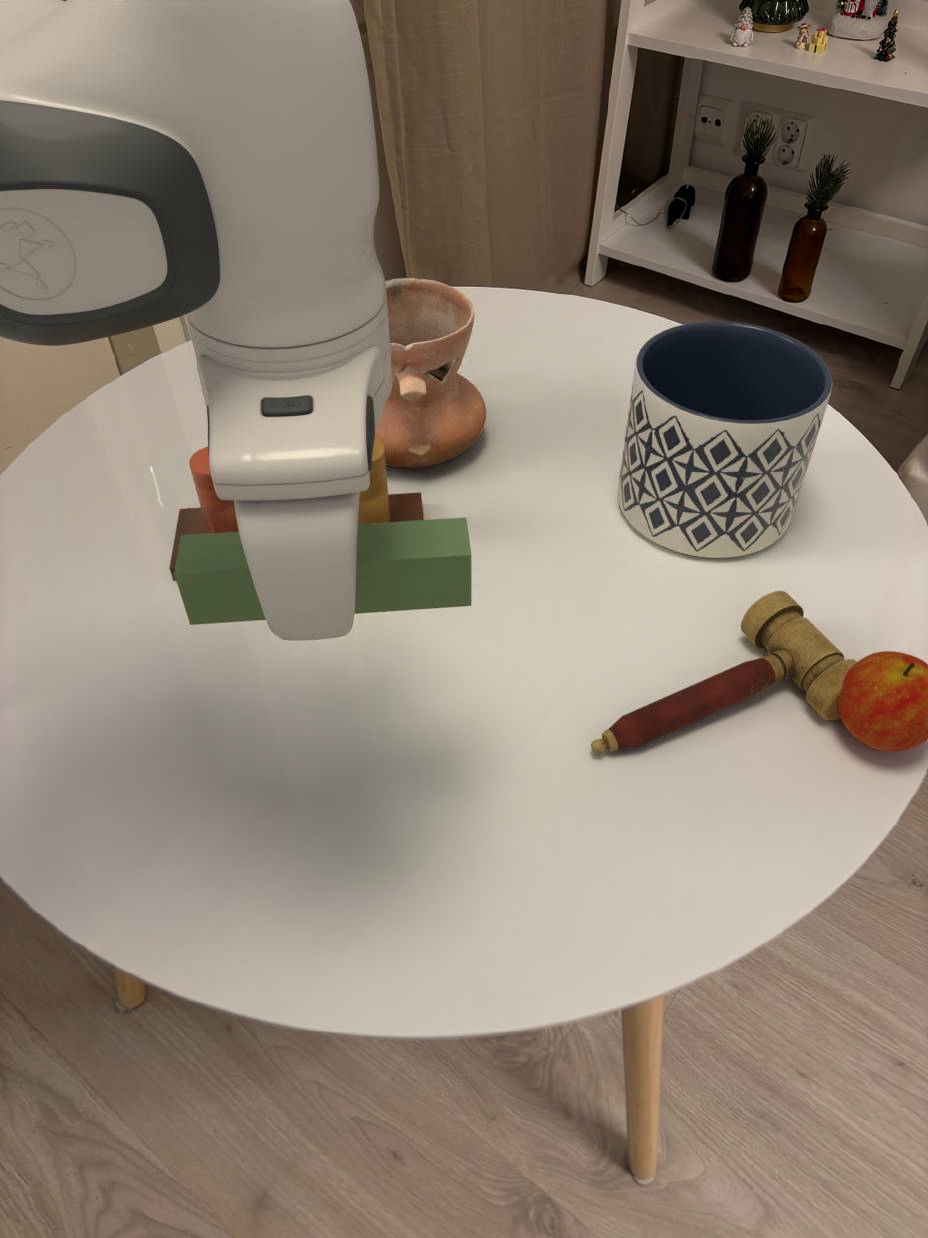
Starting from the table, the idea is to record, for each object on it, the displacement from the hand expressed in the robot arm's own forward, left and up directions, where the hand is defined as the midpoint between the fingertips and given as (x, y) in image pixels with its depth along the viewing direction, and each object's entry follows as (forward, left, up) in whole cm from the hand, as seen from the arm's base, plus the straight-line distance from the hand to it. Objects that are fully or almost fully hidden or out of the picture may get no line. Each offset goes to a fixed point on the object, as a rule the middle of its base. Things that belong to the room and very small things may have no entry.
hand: (327, 575), depth 53 cm
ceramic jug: (+7, +40, -19) cm, 45 cm away
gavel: (+27, +3, -19) cm, 33 cm away
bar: (0, 0, -2) cm, 2 cm away
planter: (+33, +26, -19) cm, 46 cm away
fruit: (+38, -1, -19) cm, 42 cm away
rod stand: (-4, +25, -19) cm, 32 cm away
